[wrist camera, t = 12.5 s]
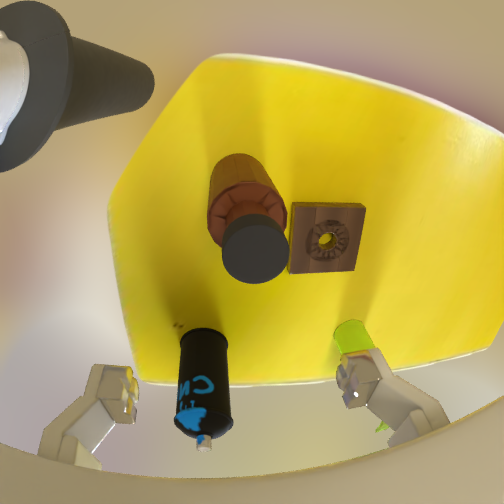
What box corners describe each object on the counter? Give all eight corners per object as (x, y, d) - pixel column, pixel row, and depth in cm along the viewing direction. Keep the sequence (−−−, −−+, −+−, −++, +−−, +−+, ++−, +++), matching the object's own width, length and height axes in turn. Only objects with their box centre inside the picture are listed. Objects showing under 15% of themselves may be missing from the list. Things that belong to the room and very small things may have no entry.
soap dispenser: (330, 348, 54) (364, 438, 36) (336, 322, 51) (377, 416, 33) (358, 344, 54) (397, 428, 37) (366, 317, 51) (413, 405, 34)
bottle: (211, 206, 38) (208, 282, 24) (210, 153, 35) (203, 198, 20) (264, 205, 39) (293, 279, 24) (266, 153, 36) (301, 197, 21)
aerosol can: (237, 347, 51) (248, 450, 34) (201, 365, 53) (201, 463, 35) (207, 319, 47) (207, 431, 30) (170, 341, 49) (159, 445, 32)
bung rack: (286, 267, 44) (289, 274, 42) (292, 202, 39) (295, 206, 38) (349, 264, 45) (354, 271, 43) (360, 203, 40) (366, 207, 39)
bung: (222, 257, 25) (223, 285, 21) (220, 204, 23) (221, 225, 19) (277, 255, 25) (287, 282, 22) (281, 203, 23) (292, 224, 20)
